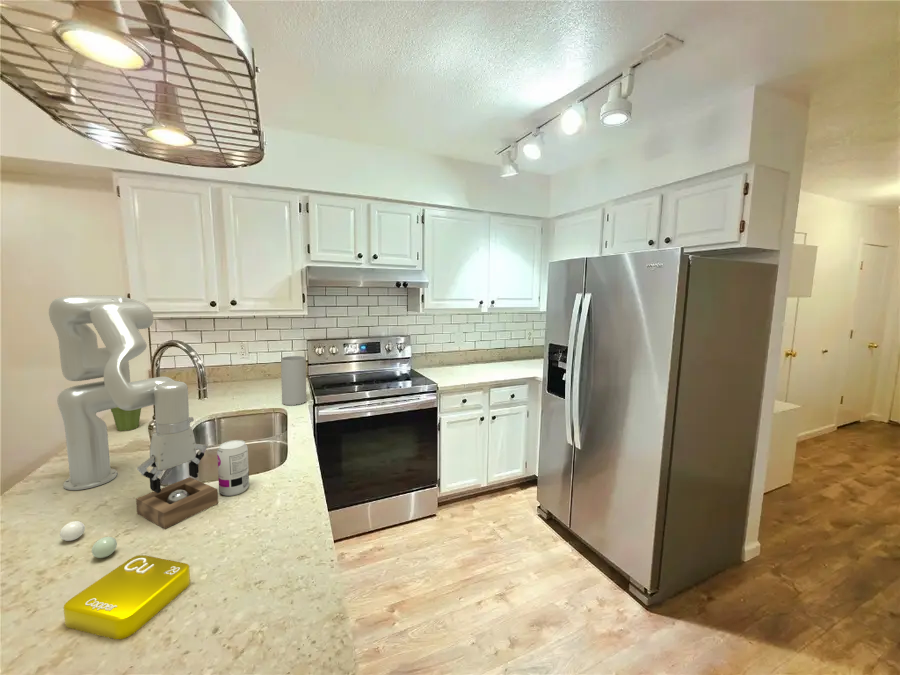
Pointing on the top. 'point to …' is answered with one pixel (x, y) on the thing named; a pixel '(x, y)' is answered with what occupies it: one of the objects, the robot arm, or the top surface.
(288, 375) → the cylinder vase
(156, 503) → the frame
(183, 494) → the steel ball
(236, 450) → the supplement can
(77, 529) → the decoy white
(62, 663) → the top surface
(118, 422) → the plant pot
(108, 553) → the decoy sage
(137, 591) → the element tile
